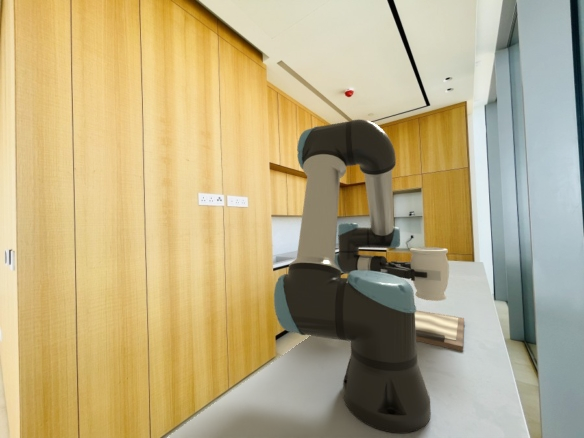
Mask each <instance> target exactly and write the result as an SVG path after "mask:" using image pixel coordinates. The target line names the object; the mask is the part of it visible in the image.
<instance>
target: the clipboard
mask: <svg viewBox="0 0 584 438" xmlns="http://www.w3.org/2000/svg"><path fill="white" fill-rule="evenodd" d="M415 327H416V342H421V343H425V344H430V345H435V346H437V347H442V348H443V347H444V348H448V349H451V350H456V351H460V352H463V351H464V336H465V318H464V317H459V316H453V315H448V314H441V313H435V312H428V311H421V310H417V309H416V312H415Z"/></svg>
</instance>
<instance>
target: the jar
mask: <svg viewBox="0 0 584 438" xmlns="http://www.w3.org/2000/svg"><path fill="white" fill-rule="evenodd" d="M409 251H410V253H411V257H410V262H411V269H414V270H415V269H424V270H436V271H441V281H436V280H427V279H418V278H416V277H415V281H412V282H413V285H414V288H415V289H416V292H415V295H414V296H416V298H419V299H422V300H426V301H433V302H439V301H444V300H447V295H446V294H445V292H446V290H447V288H448V284H449V282H448V281H449V276H450V275H449V274H450V265H449V259H448V256H447V254H448V253H449V250H448V248H443V247H435V246H432V247H431V246H426V247H425V246H423V247H421V246H418V247H412V248H410V249H409Z"/></svg>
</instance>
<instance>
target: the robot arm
mask: <svg viewBox="0 0 584 438" xmlns="http://www.w3.org/2000/svg"><path fill="white" fill-rule="evenodd" d="M296 150H297V153H298V154H297V161H298V164H299V166H300V168H301V169H302V170H303V173H304V174H305V175H306V177H307V178H306V184H305V190H304V192H305V193H304V199H303V206H302V216H301V221H300V222H301V223H300V230H299V240H298V244H297V245H298V246H297V255H296V259H294V260H293V261H292V262H290V263H289V265H288V270H287V274H286V273H285V274H283V275H280V276H279V277H278V279H277V281H276V283H275V286H274V291H273V292H274V293H273V303H274V304H273V305H274V312H275V315H276V318H277V321H278V323H279V325H280V327H281V328H282V329H284V330H285V331H287V332H290V333H295V334H299V335H301V336H306V335H307V336H311V337H320V338H327V339H334V340H341V341H347V342H350V357H349V360H348V363H347V367H346V370H345V374H344V378H343V380H342V390H343V391H342V395H343V401H344V403H345V405H346V407H347V408H348V410H349V411H350V412H351V413H352V414H353V415H354V417H356V418H357V419H359V420H360V421H361V422H363V423H365V424H366V425H368V426H370V427H373V428H376V429H378V430H380V431H385V432H388V433H398V434H401V433H403V434H404V433H411V432H414V431H415V432H416V431H418V430H420V429H422V428H424V427H425V426H426V425H427V424H428V423H429V421H430V418H431V414H432V412H431V398H430V393H429V391H428V389H427V387H426V384H425V380H424V379H423V378H424V377H423V374H422V372H421V370H420V367H419V365H418V364H419V363H418V349H417V348H418V347H417V346H418V345H417V341H416V327H415V312H416V310H417V306H416V304H415V295H414V288H413V287H412V285H411V284H410V282H408V281H407V280H411V281H412V282H413V281H415V277H416V278H418V279H427V280H436V281H441V271H436V270H424V269H415V270H414V269H411V261H397V260H393V261H392V260H390V261H388V260H387V258H386V256H383V255H371V254H360V249H361V248H363V249H365V248H367V249H369V248H370V249H371V248H372V249H376V248H377V249H391V248H393V249H394V248H399V247H401V232H400V231H401V230H400V228H399V226H395V223H394V221H395V220H394V218H395V217H394V193H393V191H394V190H393V170H394V169H395V167H396V166H397V165H396V162H397V161H396V160H397V159H396V152H395V148H394V145H393V143H392V141H391V139H390V137H389V136H388V134H387V133H386V132H385V130H383V129H382V128H381V127H380V126H378V125H377V124H375V123H374V122H371V121H370V120H366V119H359V118H357V119H353V120H349V121H345V122H337V123H331V124H327V125H317V126H314V127H312V128H307V129H306V130H304V131H303V132H302V133H300V136H299V138H298V142H297V149H296ZM351 166H359V171H360V172H361V173H362V174H364V181H365V189H366V191H365V192H366V197H367V207H368V215H369V223H370V227H359V226H358V223H356V222H349V223H348V222H347V223H345V222H344V223H340V224H338V215H339V213H338V212H339V201H340V200H339V199H340V186H341V185H340V181H341V178H343V177H344V176H345V174H346V172H347V167H351ZM337 232H338V234H337ZM337 238H338V252H337V253H336V250H337V249H336V247H337V246H336V245H337ZM342 274H345V275H346V274H347V277H342ZM405 279H407V280H405Z"/></svg>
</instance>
